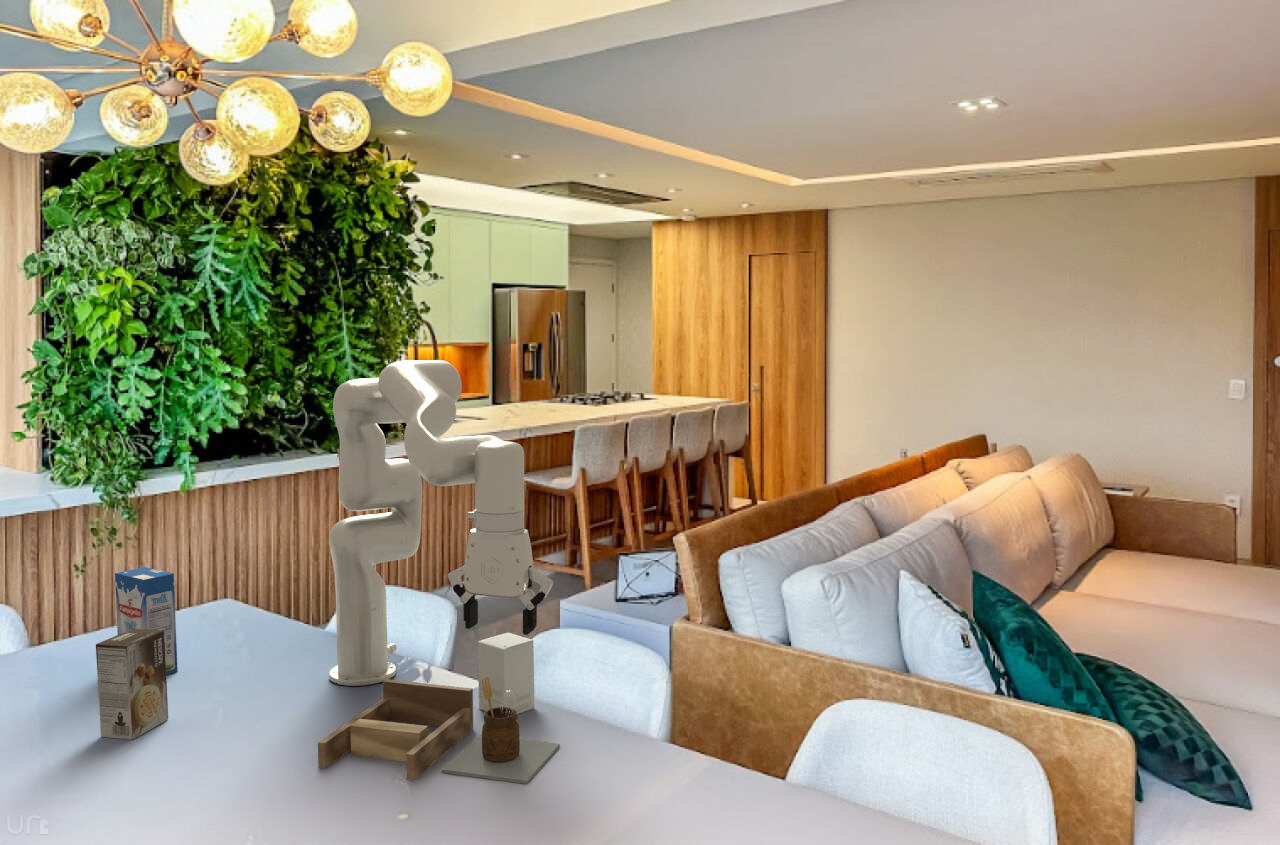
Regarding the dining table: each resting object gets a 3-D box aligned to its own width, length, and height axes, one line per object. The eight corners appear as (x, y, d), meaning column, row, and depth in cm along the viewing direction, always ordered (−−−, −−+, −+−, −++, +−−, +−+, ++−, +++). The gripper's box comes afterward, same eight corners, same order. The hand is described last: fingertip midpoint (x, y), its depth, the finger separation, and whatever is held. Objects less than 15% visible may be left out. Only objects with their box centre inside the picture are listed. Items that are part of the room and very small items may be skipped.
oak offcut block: (360, 748, 161) (360, 718, 161) (428, 756, 158) (427, 726, 158) (351, 756, 158) (350, 725, 158) (419, 764, 155) (419, 733, 155)
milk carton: (177, 672, 197) (174, 573, 195) (148, 681, 192) (143, 579, 190) (148, 663, 202) (144, 566, 200) (119, 672, 197) (114, 573, 195)
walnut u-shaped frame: (387, 718, 173) (386, 679, 173) (473, 728, 169) (472, 688, 168) (318, 767, 154) (317, 723, 153) (413, 780, 149) (412, 735, 149)
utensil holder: (503, 766, 153) (502, 691, 152) (472, 757, 156) (471, 683, 155) (527, 753, 158) (527, 680, 157) (497, 744, 161) (497, 672, 160)
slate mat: (480, 737, 165) (480, 734, 165) (559, 746, 161) (559, 743, 161) (441, 772, 152) (441, 769, 152) (526, 783, 148) (526, 780, 148)
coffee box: (137, 717, 174) (133, 627, 172) (169, 719, 172) (166, 629, 171) (98, 737, 165) (94, 643, 163) (132, 740, 164) (128, 645, 162)
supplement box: (535, 708, 178) (535, 639, 177) (503, 719, 173) (502, 649, 172) (509, 698, 183) (508, 631, 182) (477, 708, 178) (476, 640, 177)
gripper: (437, 522, 152) (438, 631, 154) (543, 530, 147) (542, 642, 149) (459, 513, 159) (460, 617, 161) (560, 520, 155) (560, 627, 156)
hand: (499, 629), depth 155 cm, fingers open, 9 cm apart
